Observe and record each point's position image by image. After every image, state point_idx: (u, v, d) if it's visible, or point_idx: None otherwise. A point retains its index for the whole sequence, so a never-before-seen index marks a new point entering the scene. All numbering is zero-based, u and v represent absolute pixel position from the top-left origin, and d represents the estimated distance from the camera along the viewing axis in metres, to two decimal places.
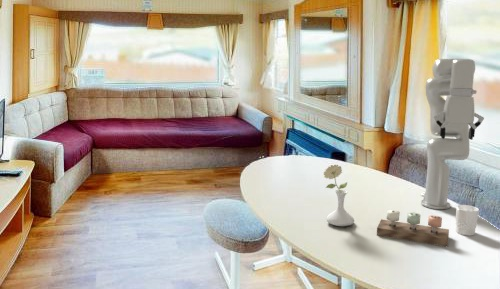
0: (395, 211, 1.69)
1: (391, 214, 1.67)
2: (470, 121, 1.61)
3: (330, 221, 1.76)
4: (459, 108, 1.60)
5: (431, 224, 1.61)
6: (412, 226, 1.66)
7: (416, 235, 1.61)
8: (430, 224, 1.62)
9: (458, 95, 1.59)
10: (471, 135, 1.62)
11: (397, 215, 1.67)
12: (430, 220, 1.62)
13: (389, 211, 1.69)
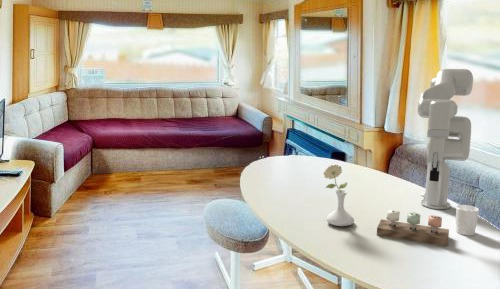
0: (395, 211, 1.69)
1: (391, 214, 1.67)
2: None
3: (330, 221, 1.76)
4: None
5: (431, 224, 1.61)
6: (412, 226, 1.66)
7: (416, 235, 1.61)
8: (430, 224, 1.62)
9: (447, 136, 1.62)
10: (438, 176, 1.67)
11: (397, 215, 1.67)
12: (430, 220, 1.62)
13: (389, 211, 1.69)
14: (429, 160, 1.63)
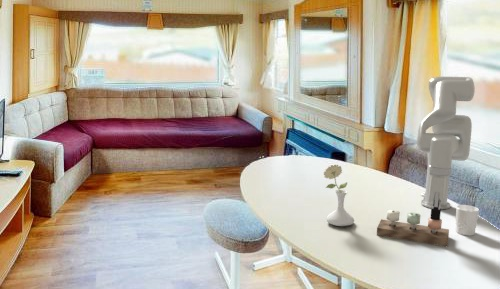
0: (395, 211, 1.69)
1: (391, 214, 1.67)
2: None
3: (330, 221, 1.76)
4: (445, 186, 1.59)
5: (431, 226, 1.62)
6: (412, 226, 1.66)
7: (416, 235, 1.61)
8: (430, 226, 1.62)
9: (449, 174, 1.56)
10: None
11: (397, 215, 1.67)
12: (430, 222, 1.62)
13: (389, 211, 1.69)
14: (430, 199, 1.57)
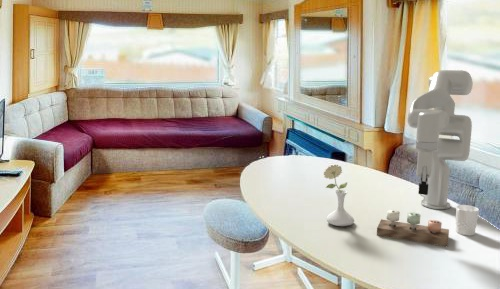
0: (395, 211, 1.69)
1: (391, 214, 1.67)
2: None
3: (330, 221, 1.76)
4: None
5: (431, 229, 1.62)
6: (412, 226, 1.66)
7: (416, 235, 1.61)
8: (430, 229, 1.62)
9: (436, 149, 1.57)
10: (427, 190, 1.62)
11: (397, 215, 1.67)
12: (430, 225, 1.62)
13: (389, 211, 1.69)
14: (418, 174, 1.57)
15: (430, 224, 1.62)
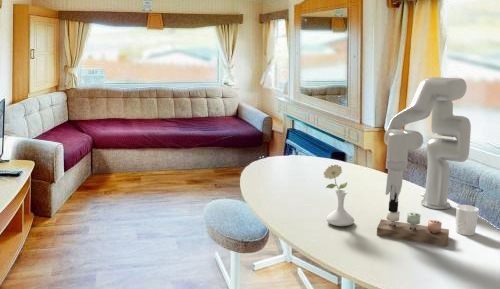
0: None
1: (391, 214, 1.67)
2: None
3: (330, 221, 1.76)
4: None
5: (431, 229, 1.62)
6: (412, 226, 1.66)
7: (416, 235, 1.61)
8: (430, 229, 1.62)
9: (405, 168, 1.62)
10: (397, 207, 1.68)
11: (397, 215, 1.67)
12: (430, 225, 1.62)
13: (389, 211, 1.69)
14: (387, 192, 1.63)
15: (430, 224, 1.62)
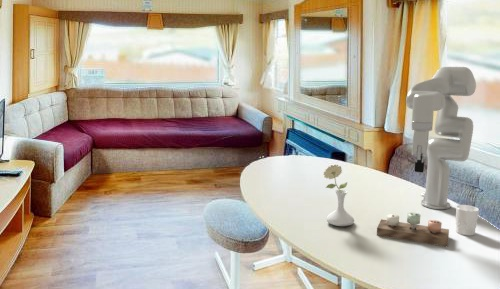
0: (395, 215, 1.69)
1: (391, 218, 1.67)
2: None
3: (330, 221, 1.76)
4: (427, 140, 1.68)
5: (431, 229, 1.62)
6: (412, 226, 1.66)
7: (416, 235, 1.61)
8: (430, 229, 1.62)
9: (431, 128, 1.65)
10: (423, 167, 1.71)
11: (397, 220, 1.67)
12: (430, 225, 1.62)
13: (389, 215, 1.69)
14: (413, 153, 1.67)
15: (430, 224, 1.62)
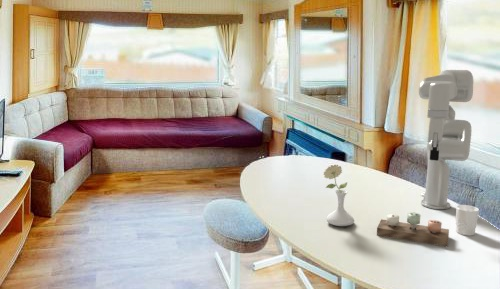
0: (395, 215, 1.69)
1: (391, 218, 1.67)
2: None
3: (330, 221, 1.76)
4: (443, 128, 1.71)
5: (431, 229, 1.62)
6: (412, 226, 1.66)
7: (416, 235, 1.61)
8: (430, 229, 1.62)
9: (447, 116, 1.68)
10: (438, 156, 1.74)
11: (397, 220, 1.67)
12: (430, 225, 1.62)
13: (389, 215, 1.69)
14: (429, 140, 1.69)
15: (430, 224, 1.62)
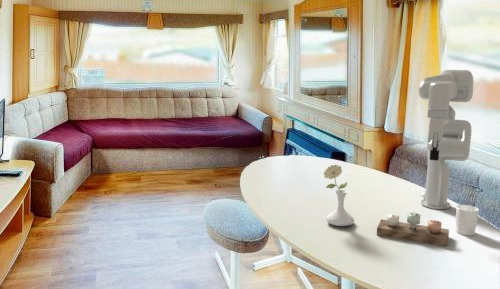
0: (395, 215, 1.69)
1: (391, 218, 1.67)
2: None
3: (330, 221, 1.76)
4: (443, 128, 1.71)
5: (431, 229, 1.62)
6: (412, 226, 1.66)
7: (416, 235, 1.61)
8: (430, 229, 1.62)
9: (447, 116, 1.68)
10: (438, 156, 1.74)
11: (397, 220, 1.67)
12: (430, 225, 1.62)
13: (389, 215, 1.69)
14: (429, 140, 1.69)
15: (430, 224, 1.62)
